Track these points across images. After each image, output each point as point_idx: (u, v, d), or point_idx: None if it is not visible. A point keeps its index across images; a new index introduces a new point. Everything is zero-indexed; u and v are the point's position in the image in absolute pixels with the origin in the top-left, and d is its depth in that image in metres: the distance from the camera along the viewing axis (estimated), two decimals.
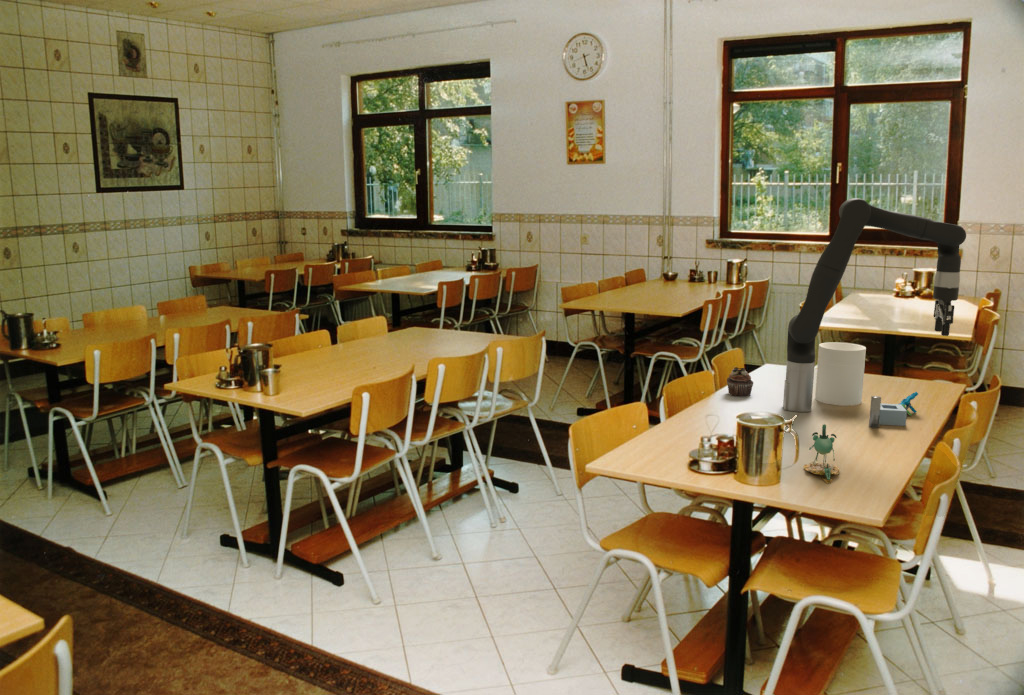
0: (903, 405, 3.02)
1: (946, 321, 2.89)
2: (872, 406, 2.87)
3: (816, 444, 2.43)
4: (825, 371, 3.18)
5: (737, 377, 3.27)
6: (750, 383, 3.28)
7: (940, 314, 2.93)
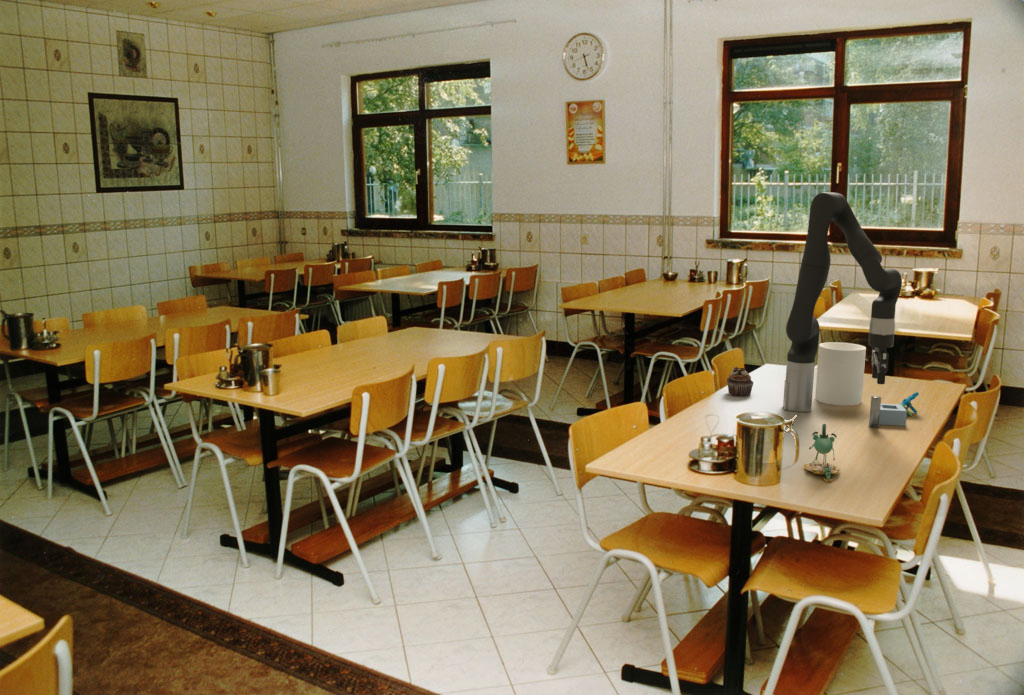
0: (903, 405, 3.02)
1: (881, 369, 2.79)
2: (872, 406, 2.87)
3: (816, 444, 2.43)
4: (825, 371, 3.18)
5: (737, 377, 3.27)
6: (750, 383, 3.28)
7: (875, 362, 2.83)
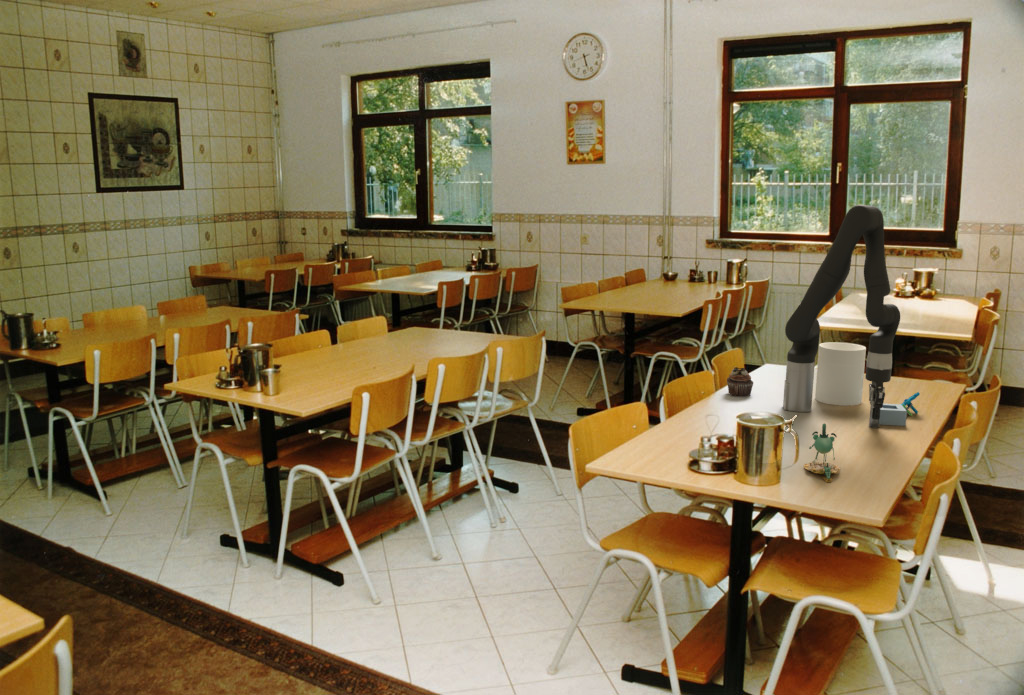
0: (903, 405, 3.02)
1: (876, 406, 2.84)
2: None
3: (816, 443, 2.43)
4: (825, 371, 3.18)
5: (737, 377, 3.27)
6: (750, 383, 3.28)
7: None
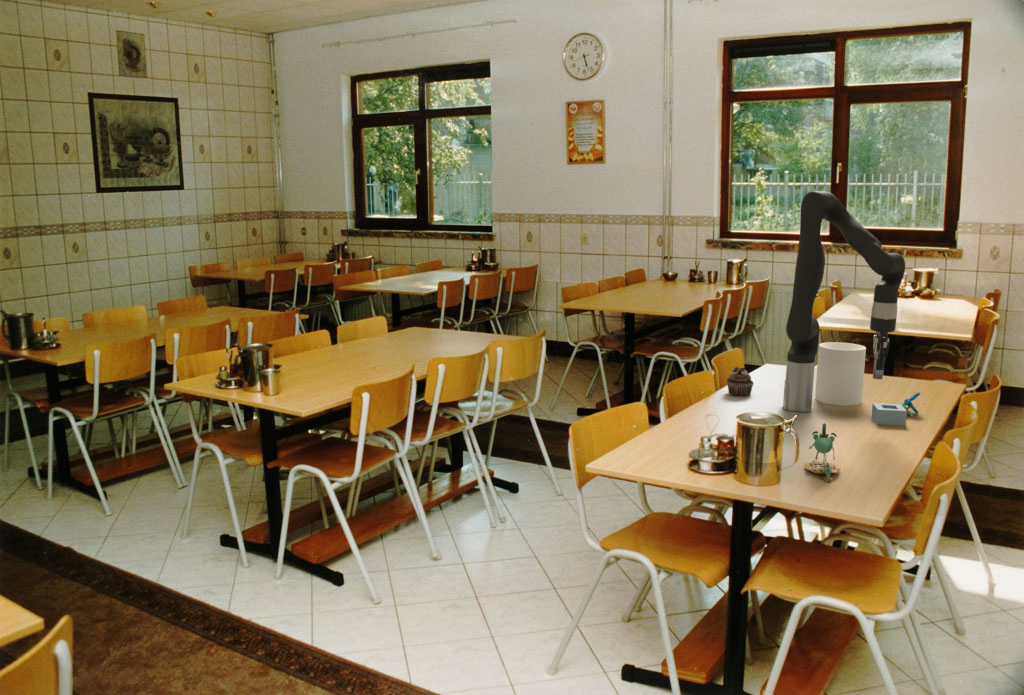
0: (903, 405, 3.02)
1: (880, 356, 2.80)
2: (876, 357, 2.84)
3: (816, 443, 2.43)
4: (825, 371, 3.18)
5: (737, 377, 3.27)
6: (750, 383, 3.28)
7: (876, 347, 2.83)
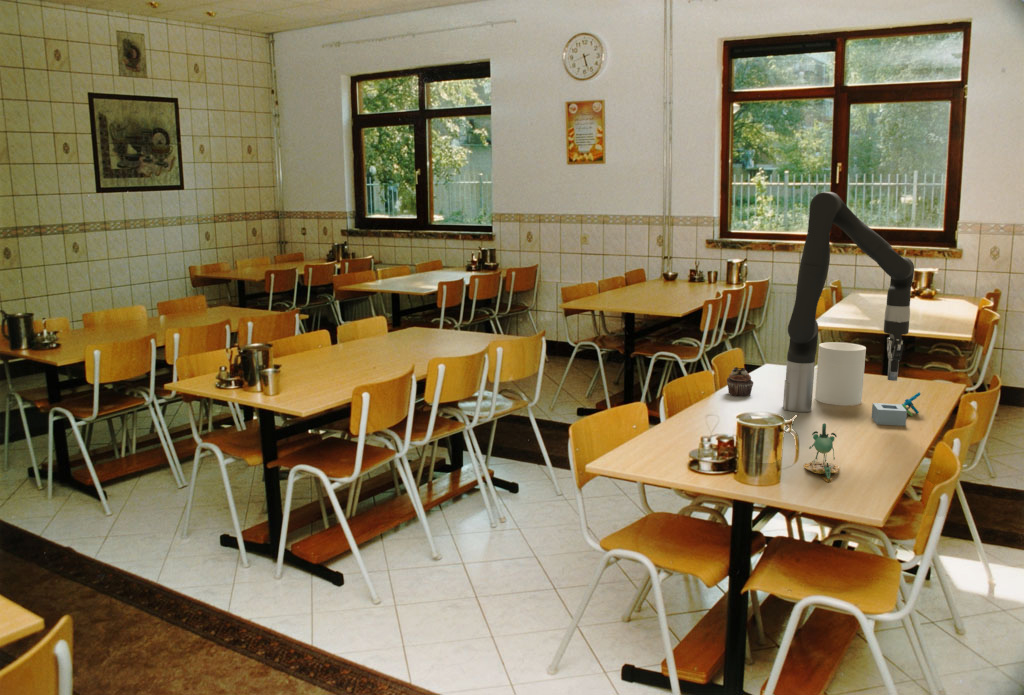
0: (904, 405, 3.02)
1: (894, 358, 2.87)
2: None
3: (816, 443, 2.43)
4: (825, 371, 3.18)
5: (737, 377, 3.27)
6: (750, 383, 3.28)
7: (890, 349, 2.90)
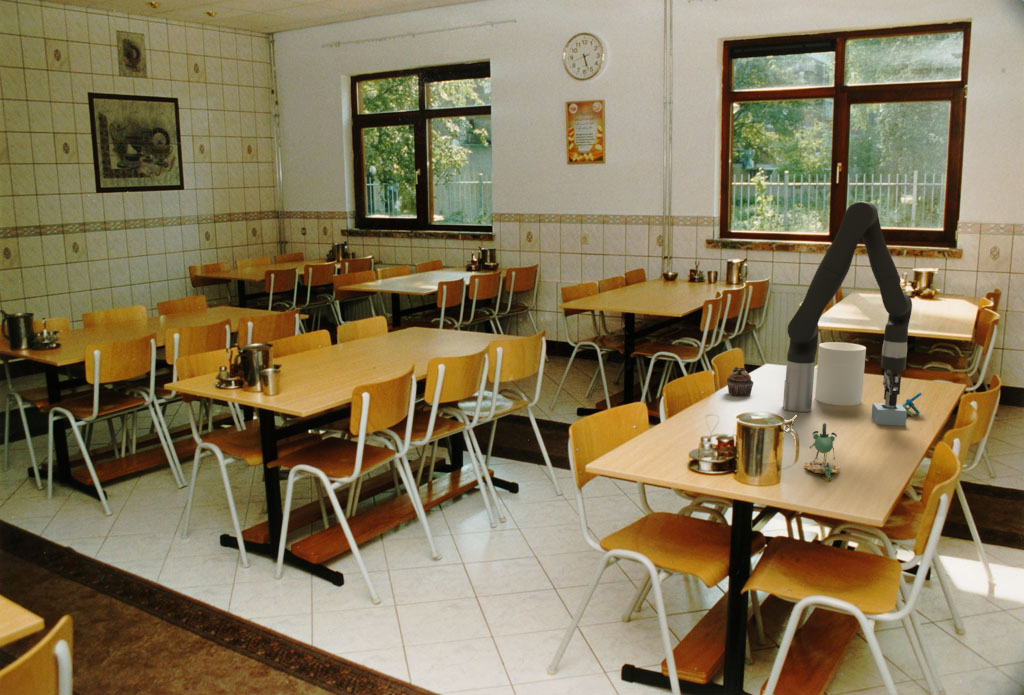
0: (904, 405, 3.02)
1: (893, 392, 2.87)
2: (887, 401, 2.94)
3: (816, 443, 2.44)
4: (825, 371, 3.18)
5: (737, 377, 3.27)
6: (750, 383, 3.28)
7: (888, 384, 2.91)
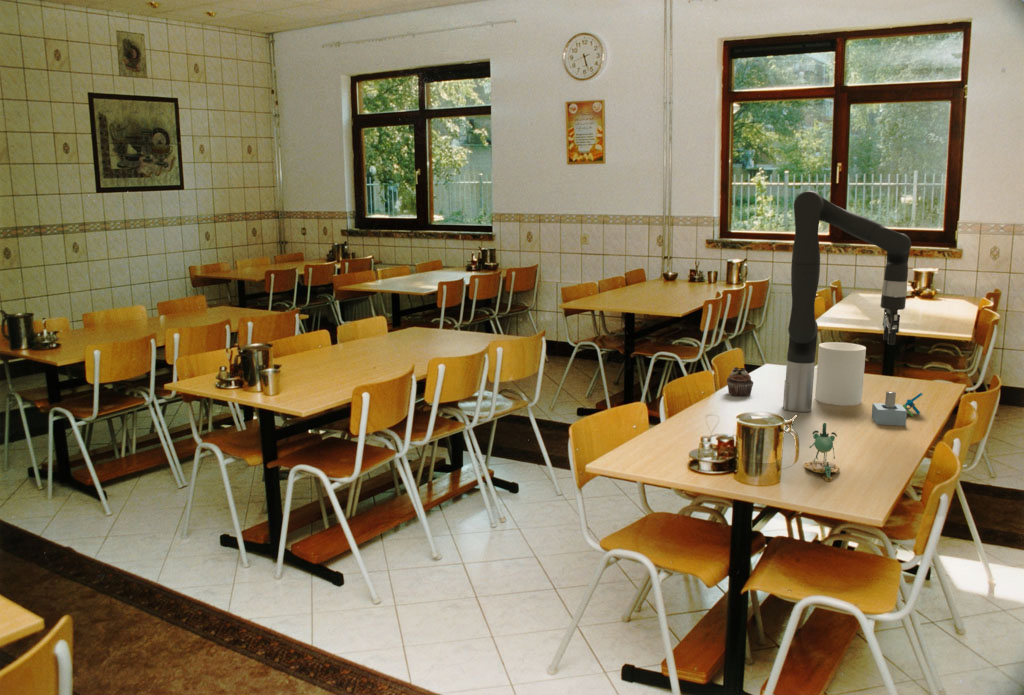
0: (904, 405, 3.02)
1: (892, 330, 2.88)
2: (887, 401, 2.94)
3: (816, 442, 2.44)
4: (825, 371, 3.18)
5: (737, 377, 3.27)
6: (750, 383, 3.28)
7: (887, 323, 2.92)
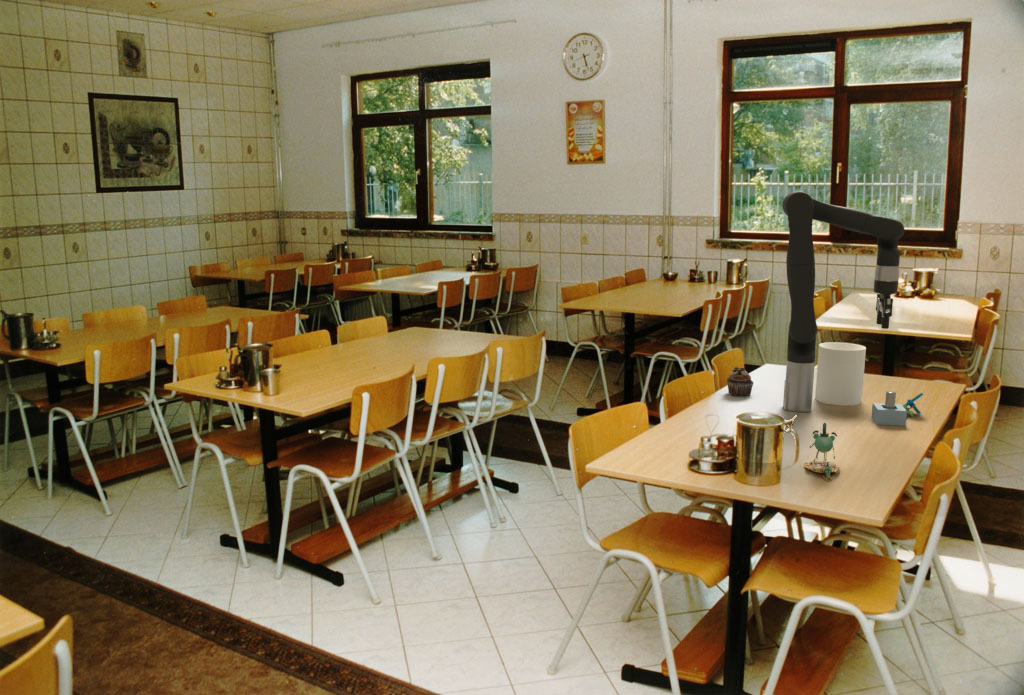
0: (904, 405, 3.02)
1: (885, 314, 2.94)
2: (887, 401, 2.94)
3: (816, 442, 2.44)
4: (825, 371, 3.18)
5: (737, 377, 3.27)
6: (750, 383, 3.28)
7: (880, 307, 2.98)
